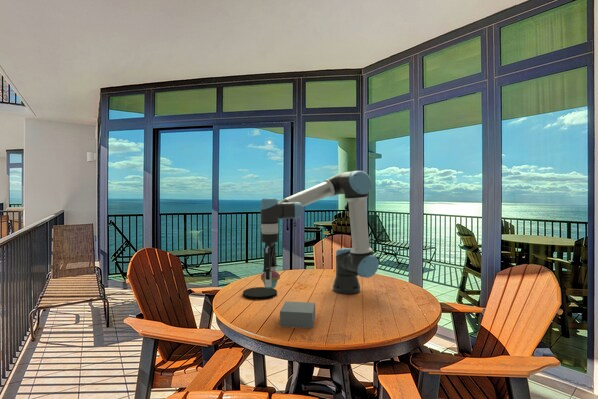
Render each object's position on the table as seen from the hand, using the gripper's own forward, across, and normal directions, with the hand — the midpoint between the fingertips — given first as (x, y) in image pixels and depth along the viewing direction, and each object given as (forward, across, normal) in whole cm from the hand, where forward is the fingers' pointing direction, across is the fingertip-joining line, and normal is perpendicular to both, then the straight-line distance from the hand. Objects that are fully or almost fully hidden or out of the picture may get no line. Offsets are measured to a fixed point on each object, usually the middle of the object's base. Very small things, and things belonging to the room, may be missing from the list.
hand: (270, 283), depth 152 cm
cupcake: (+2, 0, 0) cm, 2 cm away
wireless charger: (+13, -26, -12) cm, 31 cm away
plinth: (+13, +9, +14) cm, 21 cm away
